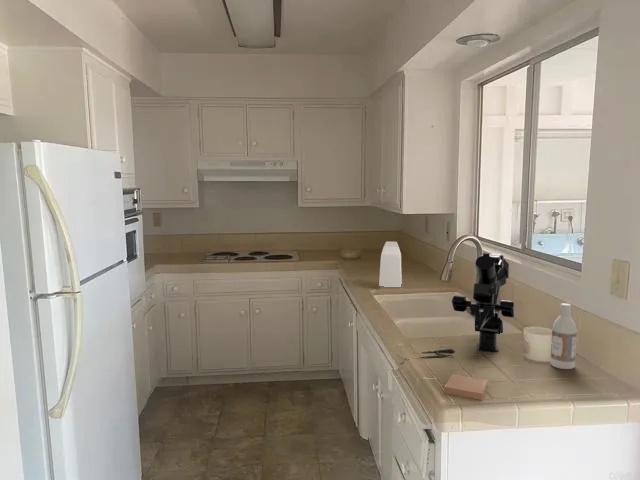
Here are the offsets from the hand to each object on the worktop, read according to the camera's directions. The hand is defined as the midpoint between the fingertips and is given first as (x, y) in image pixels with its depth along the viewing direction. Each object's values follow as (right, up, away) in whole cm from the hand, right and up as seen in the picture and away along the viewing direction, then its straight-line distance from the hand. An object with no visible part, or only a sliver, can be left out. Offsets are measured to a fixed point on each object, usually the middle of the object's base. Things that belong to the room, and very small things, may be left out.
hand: (479, 329), depth 152 cm
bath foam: (+28, -13, +3) cm, 31 cm away
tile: (-6, -13, -11) cm, 18 cm away
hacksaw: (-14, -12, +11) cm, 22 cm away
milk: (-10, +1, +123) cm, 124 cm away
